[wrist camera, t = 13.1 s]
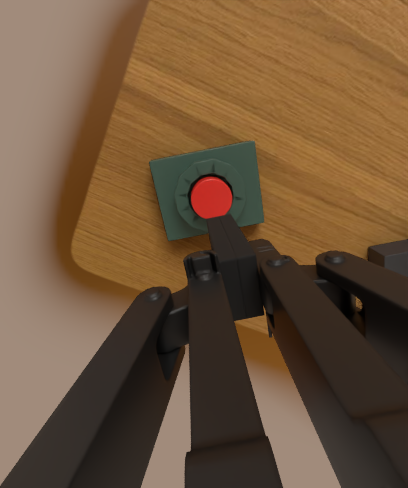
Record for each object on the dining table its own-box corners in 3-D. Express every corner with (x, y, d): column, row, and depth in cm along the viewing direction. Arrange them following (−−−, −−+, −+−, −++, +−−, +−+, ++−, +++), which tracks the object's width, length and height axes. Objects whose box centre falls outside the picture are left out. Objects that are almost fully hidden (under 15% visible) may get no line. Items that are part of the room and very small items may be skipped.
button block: (169, 234, 32) (167, 247, 28) (151, 160, 29) (146, 163, 26) (259, 217, 32) (269, 227, 28) (249, 140, 29) (259, 140, 25)
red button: (195, 218, 28) (195, 223, 26) (187, 180, 27) (187, 183, 25) (232, 211, 28) (235, 215, 26) (226, 172, 27) (228, 175, 25)
